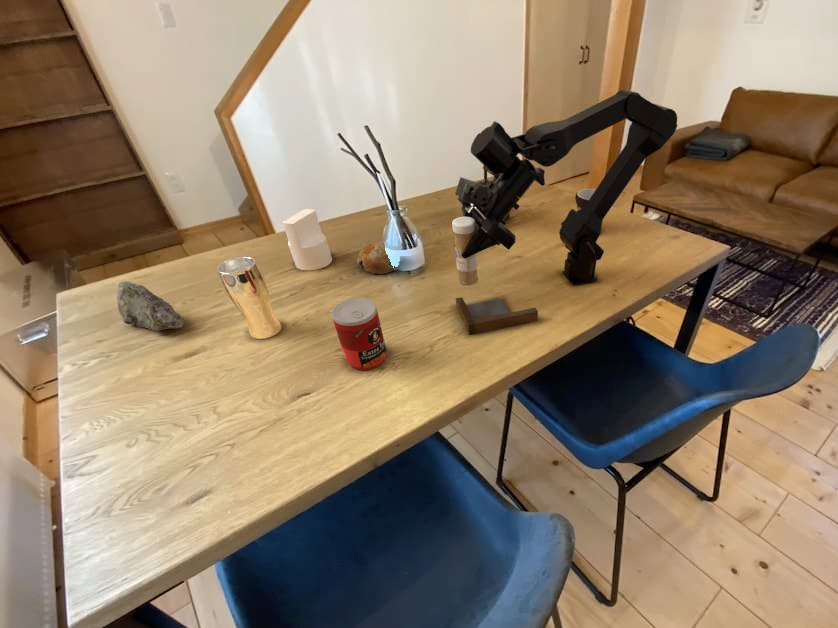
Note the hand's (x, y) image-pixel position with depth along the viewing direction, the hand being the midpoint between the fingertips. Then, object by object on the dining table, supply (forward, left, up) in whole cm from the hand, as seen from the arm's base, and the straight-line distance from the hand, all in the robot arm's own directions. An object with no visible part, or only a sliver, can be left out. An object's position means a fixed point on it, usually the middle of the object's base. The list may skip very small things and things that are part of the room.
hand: (459, 252), depth 89 cm
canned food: (+23, +12, -12) cm, 29 cm away
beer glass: (+42, -4, -12) cm, 43 cm away
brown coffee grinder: (-19, -40, -12) cm, 46 cm away
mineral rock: (+64, -13, -12) cm, 66 cm away
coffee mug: (-44, -27, -12) cm, 53 cm away
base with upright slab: (+32, -32, -12) cm, 46 cm away
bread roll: (+16, -24, -12) cm, 31 cm away
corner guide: (-5, +7, -12) cm, 15 cm away
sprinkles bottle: (-1, 0, -7) cm, 7 cm away
